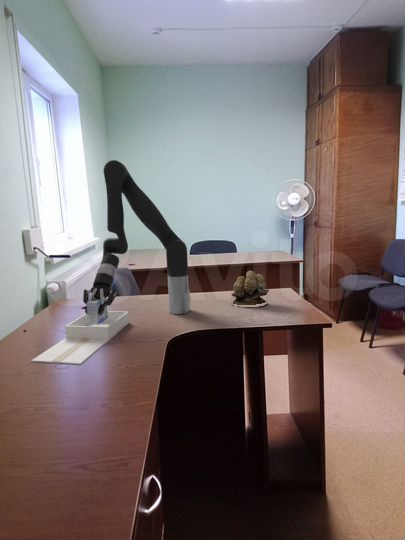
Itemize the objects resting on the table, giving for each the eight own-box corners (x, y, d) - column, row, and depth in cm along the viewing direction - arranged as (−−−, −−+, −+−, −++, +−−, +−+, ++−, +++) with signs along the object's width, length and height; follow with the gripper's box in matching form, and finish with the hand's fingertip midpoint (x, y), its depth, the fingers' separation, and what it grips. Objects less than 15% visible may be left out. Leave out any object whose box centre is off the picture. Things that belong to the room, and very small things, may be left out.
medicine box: (98, 324, 128) (96, 303, 126) (88, 324, 129) (86, 302, 127) (108, 318, 136) (106, 297, 134) (98, 317, 137) (96, 297, 135)
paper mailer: (129, 322, 141) (128, 311, 140) (80, 364, 103) (78, 349, 103) (92, 321, 144) (91, 310, 143) (31, 361, 107) (29, 346, 106)
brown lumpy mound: (266, 301, 167) (267, 267, 164) (270, 308, 156) (271, 272, 152) (231, 301, 168) (230, 268, 165) (232, 308, 156) (232, 273, 153)
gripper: (85, 271, 136) (71, 308, 127) (118, 272, 133) (106, 310, 124) (93, 281, 142) (80, 317, 133) (124, 282, 139) (114, 319, 130)
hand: (93, 313), depth 128 cm, fingers closed on medicine box, 4 cm apart
